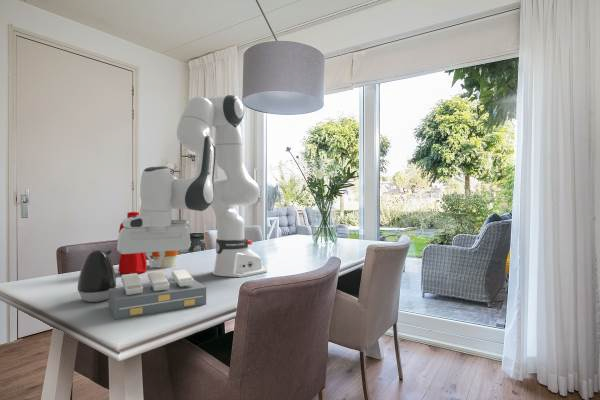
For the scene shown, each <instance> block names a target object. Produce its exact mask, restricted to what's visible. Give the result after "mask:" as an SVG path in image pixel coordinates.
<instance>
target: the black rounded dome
mask: <svg viewBox="0 0 600 400" xmlns="http://www.w3.org/2000/svg"><path fill="white" fill-rule="evenodd" d="M111 254H112V250H111V249H109V250H107V251H104V250H103V249H95V250H93V251H91V252H89V253H88V254H87V256H86V257H85V259H84V261H83V263H82V266H81V268H80V269H81V270H80V272H79V277H78V283H77V292H78V293H79V296H80V298H81V299H82V300H84V301H86V302H88V303H98V302H99V303H100V302H103V301H106V300H109V289H112V288H117V279H116V273H115V272H116V271H115V268H114V266H113V265H114V264H113V263H112V260H111V258H110V256H109V255H111Z"/></svg>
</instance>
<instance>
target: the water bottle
mask: <svg viewBox="0 0 600 400" xmlns="http://www.w3.org/2000/svg"><path fill="white" fill-rule="evenodd" d="M139 214H140V211H139V212H138V211H130V212H127V215H126V217H127V218H130V217H133V216H137V215H139ZM127 218H126V219H127ZM122 228H124V226H123V224H122V222H121V223H120V226H119V230H118V233H119V232H120V230H121V229H122ZM119 257H120V258H119V261H118V272H119V274H121V275H126V274H135V273H137V274H143V273H145V272H147V267H148V266H147V265H148V264H147V257H146V253H132V254H120V256H119Z"/></svg>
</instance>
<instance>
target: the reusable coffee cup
mask: <svg viewBox="0 0 600 400" xmlns="http://www.w3.org/2000/svg"><path fill="white" fill-rule="evenodd" d="M178 255H179V250H175V251H165V256H164V257H163V259H162V261H161V267H156V268H157V269H169V267H170V268H174V267H176V263H177V257H178ZM159 256H160V254H159V252H152V256H151V257H152V260H158V258H159Z"/></svg>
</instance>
